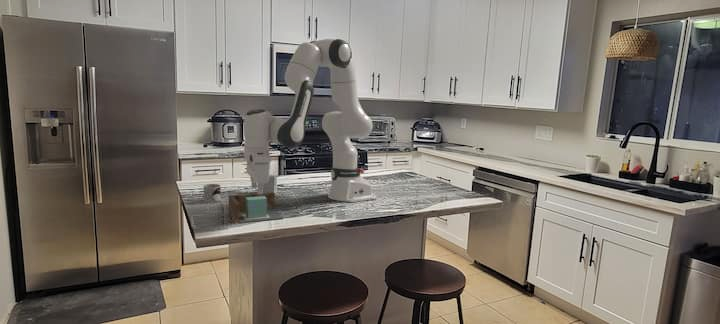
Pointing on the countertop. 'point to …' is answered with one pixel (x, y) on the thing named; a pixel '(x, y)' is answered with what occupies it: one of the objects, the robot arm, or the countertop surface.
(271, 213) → the mat
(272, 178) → the medicine box
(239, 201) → the corner walls
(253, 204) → the teal block
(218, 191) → the mug
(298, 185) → the countertop surface
